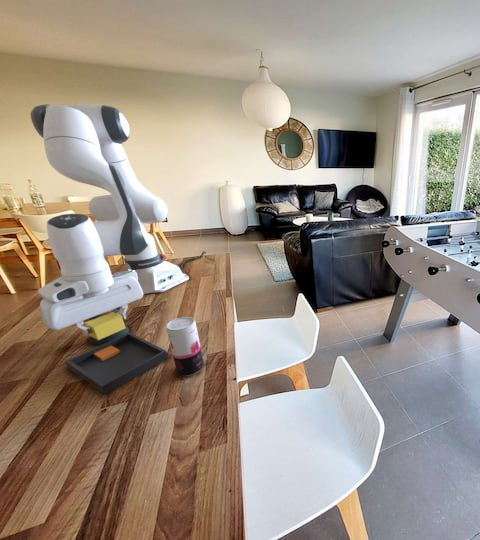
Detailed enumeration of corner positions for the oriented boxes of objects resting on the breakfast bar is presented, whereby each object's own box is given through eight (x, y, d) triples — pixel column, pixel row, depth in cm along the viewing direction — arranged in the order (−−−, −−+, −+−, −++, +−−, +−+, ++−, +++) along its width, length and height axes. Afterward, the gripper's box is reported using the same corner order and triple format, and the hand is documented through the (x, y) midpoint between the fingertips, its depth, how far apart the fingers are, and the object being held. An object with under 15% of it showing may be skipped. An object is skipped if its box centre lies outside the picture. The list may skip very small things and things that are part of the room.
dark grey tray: (131, 338, 91) (129, 332, 90) (168, 357, 84) (166, 350, 83) (67, 368, 78) (64, 361, 77) (104, 394, 71) (101, 386, 70)
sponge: (116, 323, 82) (112, 311, 80) (125, 328, 80) (121, 316, 78) (89, 335, 76) (84, 322, 75) (98, 340, 75) (93, 327, 73)
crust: (112, 347, 86) (111, 345, 85) (120, 352, 84) (119, 349, 84) (94, 356, 82) (93, 353, 82) (102, 361, 80) (101, 358, 80)
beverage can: (207, 369, 80) (198, 323, 74) (181, 381, 76) (169, 333, 70) (199, 357, 84) (190, 313, 79) (174, 368, 80) (162, 322, 74)
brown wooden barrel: (132, 336, 92) (123, 305, 88) (90, 349, 85) (77, 316, 81) (126, 319, 100) (117, 290, 96) (87, 330, 94) (75, 299, 89)
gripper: (128, 264, 82) (140, 306, 87) (27, 292, 65) (50, 342, 70) (141, 269, 80) (152, 312, 85) (40, 299, 62) (63, 350, 68)
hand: (105, 326), depth 77 cm, fingers closed on sponge, 6 cm apart
